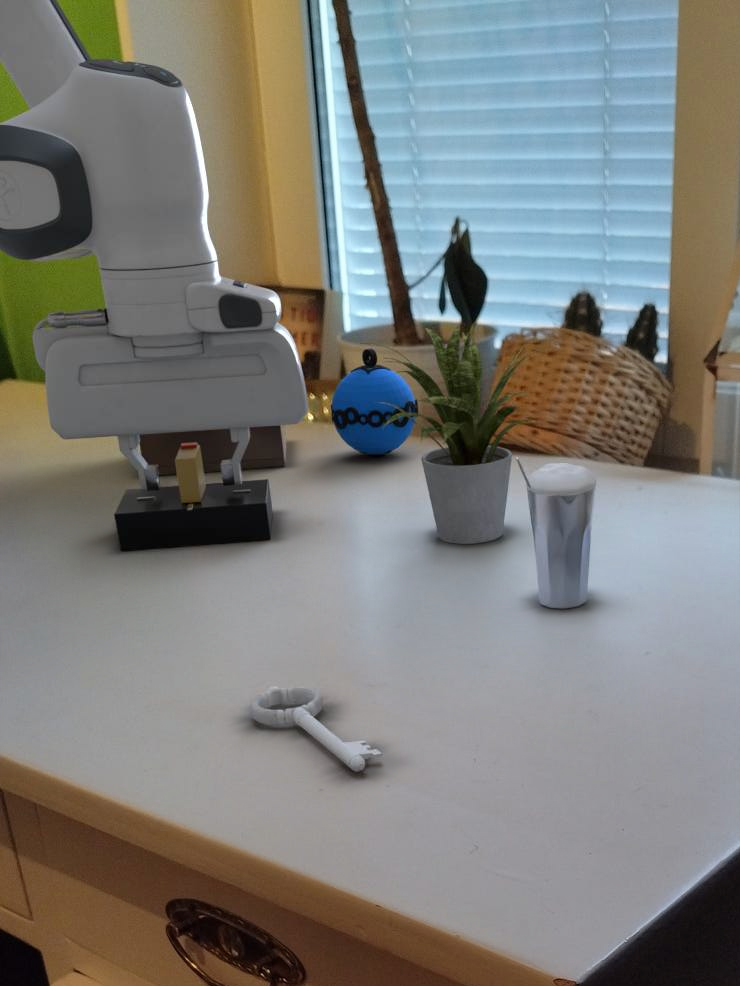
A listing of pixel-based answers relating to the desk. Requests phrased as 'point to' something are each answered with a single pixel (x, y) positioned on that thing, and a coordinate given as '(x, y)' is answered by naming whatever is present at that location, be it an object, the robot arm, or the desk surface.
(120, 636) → the desk surface
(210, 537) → the panel
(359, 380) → the ornament
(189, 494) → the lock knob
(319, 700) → the key
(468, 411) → the house plant
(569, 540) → the milkshake
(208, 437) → the box
